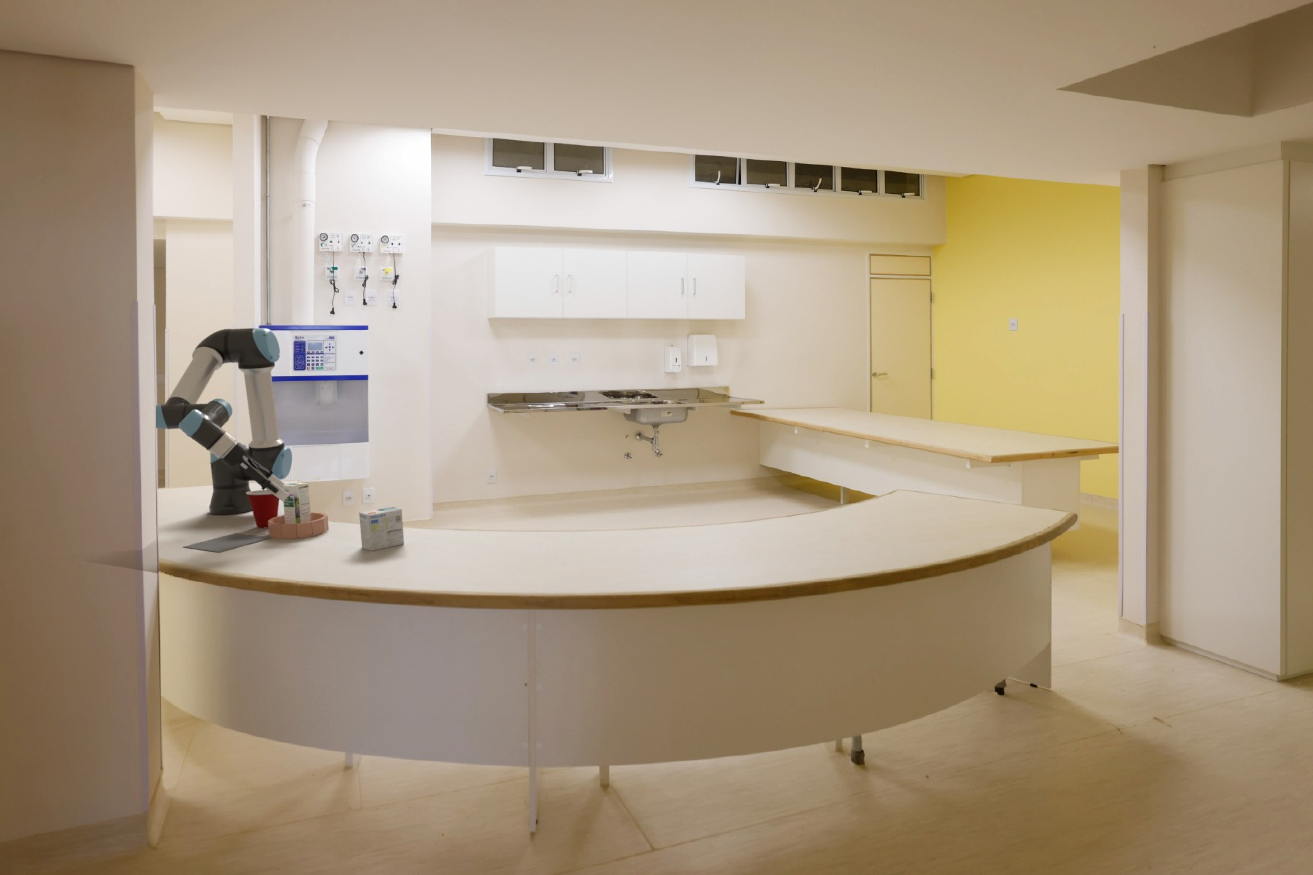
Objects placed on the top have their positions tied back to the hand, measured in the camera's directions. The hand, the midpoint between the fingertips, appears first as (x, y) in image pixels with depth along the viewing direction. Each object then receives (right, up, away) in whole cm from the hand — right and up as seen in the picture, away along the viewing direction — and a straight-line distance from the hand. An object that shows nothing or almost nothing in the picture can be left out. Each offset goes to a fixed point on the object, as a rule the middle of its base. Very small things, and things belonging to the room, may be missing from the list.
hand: (286, 494), depth 270 cm
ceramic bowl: (+3, -12, +3) cm, 13 cm away
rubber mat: (-14, -14, -8) cm, 22 cm away
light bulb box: (+35, -14, -16) cm, 41 cm away
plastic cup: (-12, -12, +13) cm, 21 cm away
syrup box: (+2, -11, +4) cm, 12 cm away
